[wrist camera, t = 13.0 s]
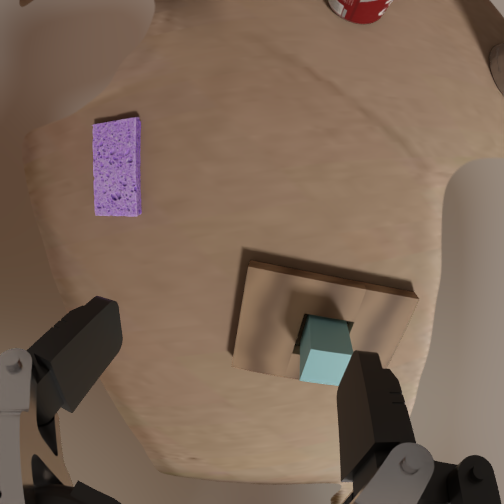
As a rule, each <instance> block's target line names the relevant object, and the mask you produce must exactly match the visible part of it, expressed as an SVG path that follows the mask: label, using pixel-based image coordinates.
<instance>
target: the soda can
mask: <svg viewBox="0 0 504 504" xmlns="http://www.w3.org/2000/svg"><path fill="white" fill-rule="evenodd" d="M392 1H393V0H328V3H329V5H330V7H331V9H332V10H333V11H334V12H335V13H336V14H337V15H338V16H340V17H341V18H343V19H345V20H347V21H349V22H352V23H356V24H370V23H374V22H376V21H377V20H379V19H380V18H381V16H382V15H383V13H384V12H385V11H386V9H387V8H388V6H389V5H390V4H391V2H392Z"/></svg>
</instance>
